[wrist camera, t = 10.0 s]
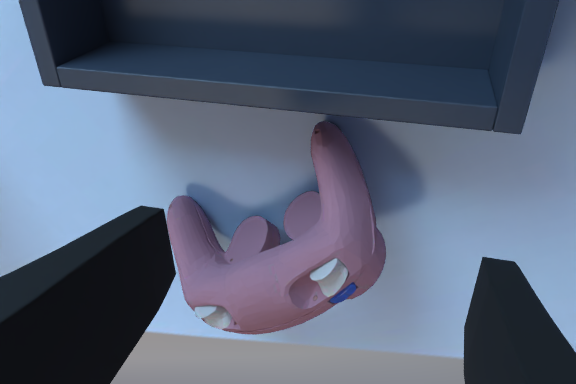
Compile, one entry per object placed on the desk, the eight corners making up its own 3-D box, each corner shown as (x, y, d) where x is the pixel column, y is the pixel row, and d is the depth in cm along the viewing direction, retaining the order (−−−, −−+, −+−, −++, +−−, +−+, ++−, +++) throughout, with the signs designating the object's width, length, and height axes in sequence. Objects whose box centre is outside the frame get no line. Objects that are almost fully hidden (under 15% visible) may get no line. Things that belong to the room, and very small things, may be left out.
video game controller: (226, 231, 26) (217, 360, 22) (162, 194, 23) (138, 335, 19) (386, 161, 22) (412, 309, 18) (331, 103, 19) (346, 264, 15)
